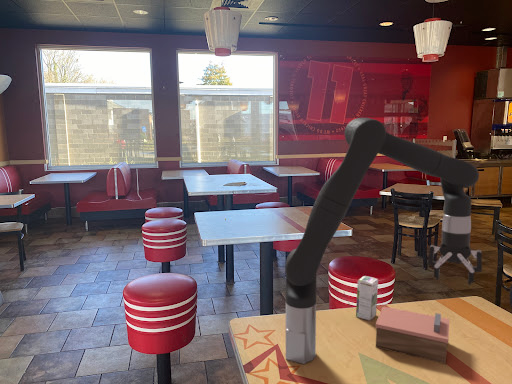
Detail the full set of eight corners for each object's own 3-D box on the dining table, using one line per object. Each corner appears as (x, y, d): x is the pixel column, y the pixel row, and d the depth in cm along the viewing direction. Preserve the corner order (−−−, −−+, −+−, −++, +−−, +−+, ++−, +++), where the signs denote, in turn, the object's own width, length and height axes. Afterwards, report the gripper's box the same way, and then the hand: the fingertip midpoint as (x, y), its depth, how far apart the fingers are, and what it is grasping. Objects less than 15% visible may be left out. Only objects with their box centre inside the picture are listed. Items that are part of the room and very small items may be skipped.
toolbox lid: (448, 343, 111) (449, 331, 110) (375, 327, 120) (375, 316, 120) (449, 322, 123) (449, 312, 122) (382, 309, 132) (383, 299, 132)
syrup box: (361, 311, 146) (362, 275, 144) (376, 315, 142) (378, 278, 140) (355, 316, 141) (356, 279, 139) (371, 321, 138) (372, 283, 136)
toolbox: (445, 363, 112) (447, 343, 111) (375, 346, 122) (376, 328, 120) (446, 342, 124) (448, 323, 123) (382, 328, 133) (383, 310, 132)
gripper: (428, 229, 113) (426, 281, 116) (484, 235, 106) (480, 290, 109) (431, 224, 120) (428, 273, 122) (483, 228, 113) (480, 280, 115)
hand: (453, 281), depth 116 cm, fingers open, 8 cm apart
